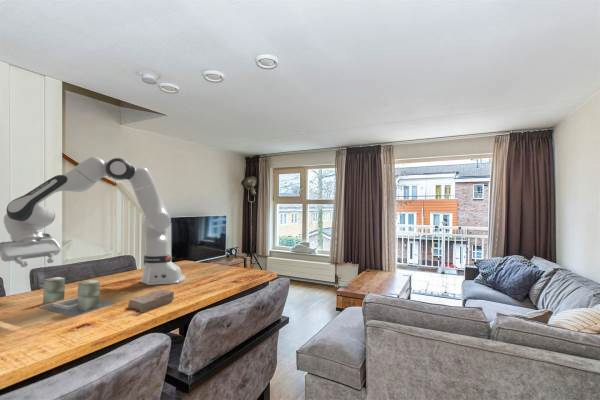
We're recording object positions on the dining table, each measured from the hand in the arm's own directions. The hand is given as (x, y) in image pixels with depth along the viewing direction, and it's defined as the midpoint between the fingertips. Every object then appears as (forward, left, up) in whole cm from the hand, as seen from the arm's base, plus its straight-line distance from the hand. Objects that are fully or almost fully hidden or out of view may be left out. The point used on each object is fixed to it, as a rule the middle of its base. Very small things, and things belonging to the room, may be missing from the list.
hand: (38, 264), depth 124 cm
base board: (-24, +14, -15) cm, 32 cm away
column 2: (-29, +17, -14) cm, 37 cm away
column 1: (-10, +6, -15) cm, 19 cm away
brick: (-52, +12, -16) cm, 55 cm away
